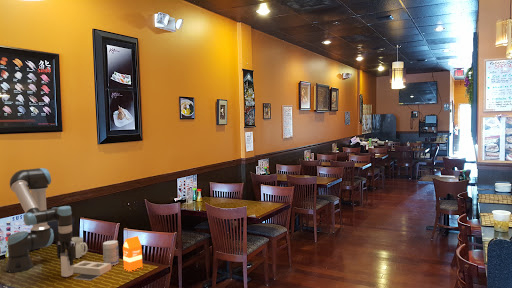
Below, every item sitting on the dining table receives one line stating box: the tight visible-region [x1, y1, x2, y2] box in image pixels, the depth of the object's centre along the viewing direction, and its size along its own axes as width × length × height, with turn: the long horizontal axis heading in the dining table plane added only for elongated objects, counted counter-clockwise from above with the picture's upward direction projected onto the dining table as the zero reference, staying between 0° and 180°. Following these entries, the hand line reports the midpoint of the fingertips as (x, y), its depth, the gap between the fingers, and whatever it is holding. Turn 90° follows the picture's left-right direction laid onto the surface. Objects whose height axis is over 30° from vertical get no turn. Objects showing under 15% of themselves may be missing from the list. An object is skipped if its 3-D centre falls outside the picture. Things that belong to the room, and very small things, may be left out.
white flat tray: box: [73, 260, 112, 276], centre depth 243 cm, size 22×10×4 cm, turn 72°
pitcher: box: [72, 236, 88, 259], centre depth 272 cm, size 11×18×14 cm, turn 72°
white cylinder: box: [59, 250, 74, 278], centre depth 234 cm, size 5×5×14 cm
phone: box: [73, 273, 101, 281], centre depth 233 cm, size 7×13×1 cm, turn 72°
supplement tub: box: [102, 240, 120, 267], centre depth 255 cm, size 10×10×15 cm
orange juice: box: [122, 235, 143, 272], centre depth 245 cm, size 8×9×20 cm
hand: (67, 269), depth 234 cm, fingers closed on white cylinder, 4 cm apart
